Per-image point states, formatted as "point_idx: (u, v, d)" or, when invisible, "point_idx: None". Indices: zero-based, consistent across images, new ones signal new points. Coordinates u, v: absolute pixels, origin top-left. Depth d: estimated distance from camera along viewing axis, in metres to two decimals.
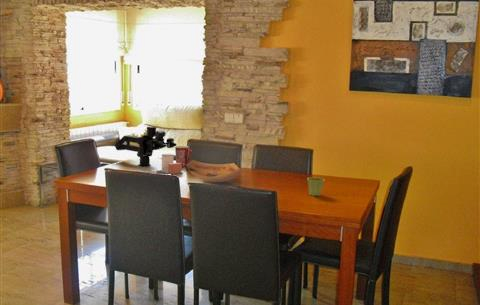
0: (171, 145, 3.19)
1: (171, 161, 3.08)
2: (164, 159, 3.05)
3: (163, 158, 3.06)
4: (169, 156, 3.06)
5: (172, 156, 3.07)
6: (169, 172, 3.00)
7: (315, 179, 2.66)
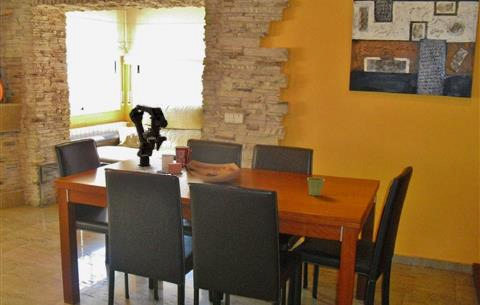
0: None
1: (171, 161, 3.08)
2: (164, 159, 3.05)
3: (163, 158, 3.06)
4: (169, 156, 3.06)
5: (172, 156, 3.07)
6: (169, 172, 3.00)
7: (315, 179, 2.66)
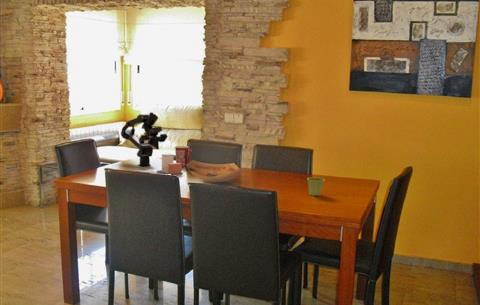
0: None
1: (171, 161, 3.08)
2: (164, 159, 3.05)
3: (163, 158, 3.06)
4: (169, 156, 3.06)
5: (172, 156, 3.07)
6: (169, 172, 3.00)
7: (315, 179, 2.66)
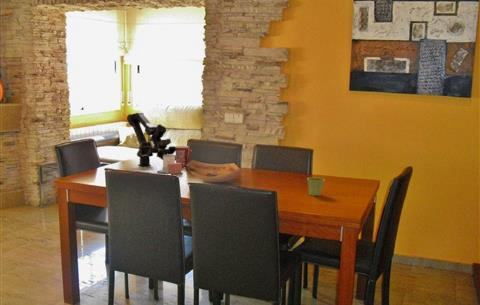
0: None
1: (172, 161, 3.06)
2: (165, 159, 3.04)
3: (164, 158, 3.05)
4: (170, 156, 3.05)
5: (173, 156, 3.06)
6: (169, 172, 3.00)
7: (315, 179, 2.66)
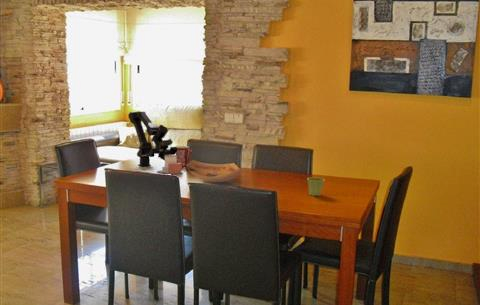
0: None
1: (174, 162, 3.05)
2: (167, 160, 3.03)
3: (166, 159, 3.03)
4: (172, 156, 3.03)
5: (175, 157, 3.05)
6: (169, 172, 3.00)
7: (315, 179, 2.66)
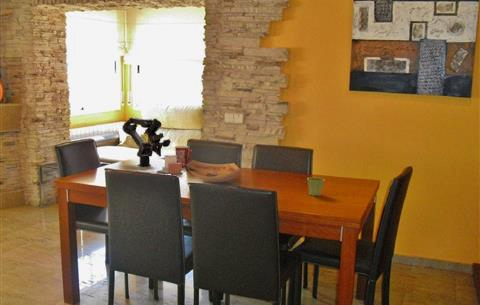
0: None
1: (174, 162, 3.05)
2: (167, 160, 3.03)
3: (166, 159, 3.03)
4: (172, 156, 3.03)
5: (175, 157, 3.05)
6: (169, 172, 3.00)
7: (315, 179, 2.66)
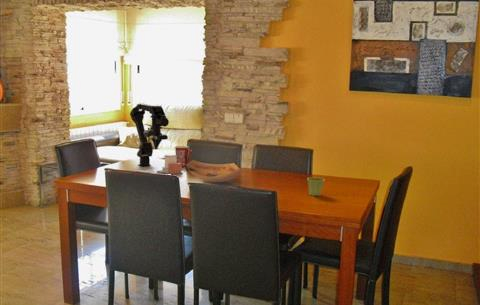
0: None
1: (174, 162, 3.05)
2: (167, 160, 3.03)
3: (166, 159, 3.03)
4: (172, 156, 3.03)
5: (175, 157, 3.05)
6: (169, 172, 3.00)
7: (315, 179, 2.66)
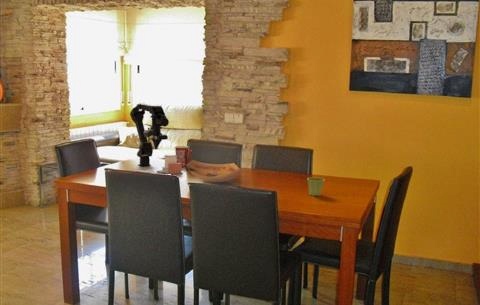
0: None
1: (174, 162, 3.05)
2: (167, 160, 3.03)
3: (166, 159, 3.03)
4: (172, 156, 3.03)
5: (175, 157, 3.05)
6: (169, 172, 3.00)
7: (315, 179, 2.66)
